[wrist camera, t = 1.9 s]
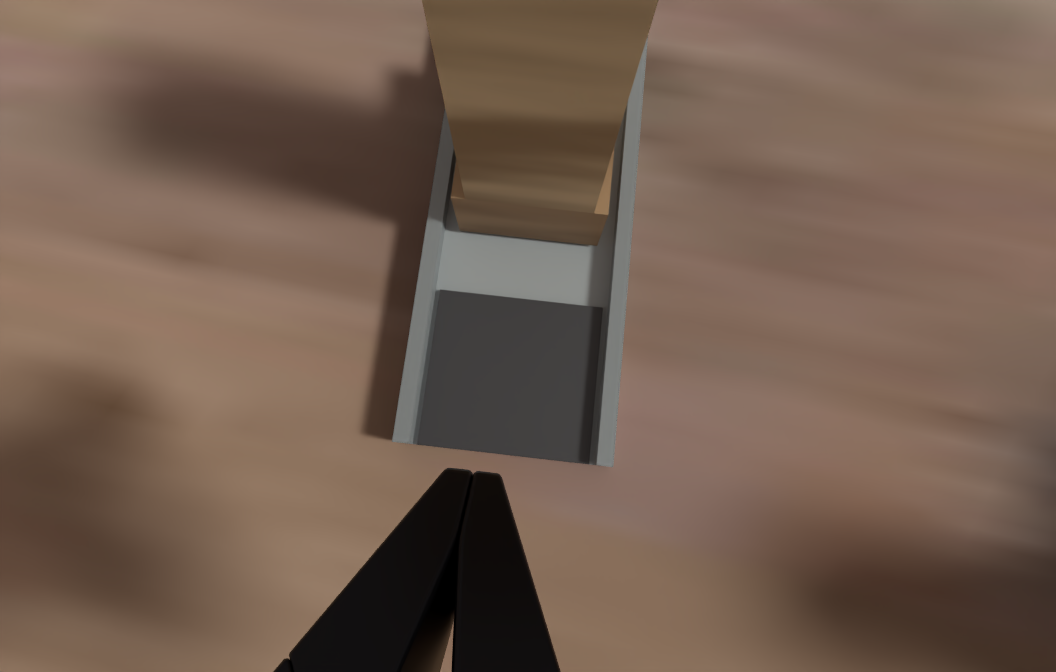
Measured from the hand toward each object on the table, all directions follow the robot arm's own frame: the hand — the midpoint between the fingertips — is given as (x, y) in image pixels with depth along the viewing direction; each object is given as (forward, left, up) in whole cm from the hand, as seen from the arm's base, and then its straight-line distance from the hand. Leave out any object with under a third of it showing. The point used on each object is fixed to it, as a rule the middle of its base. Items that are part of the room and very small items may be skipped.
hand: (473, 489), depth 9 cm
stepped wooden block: (+7, +10, -13) cm, 18 cm away
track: (+7, +9, -13) cm, 18 cm away
